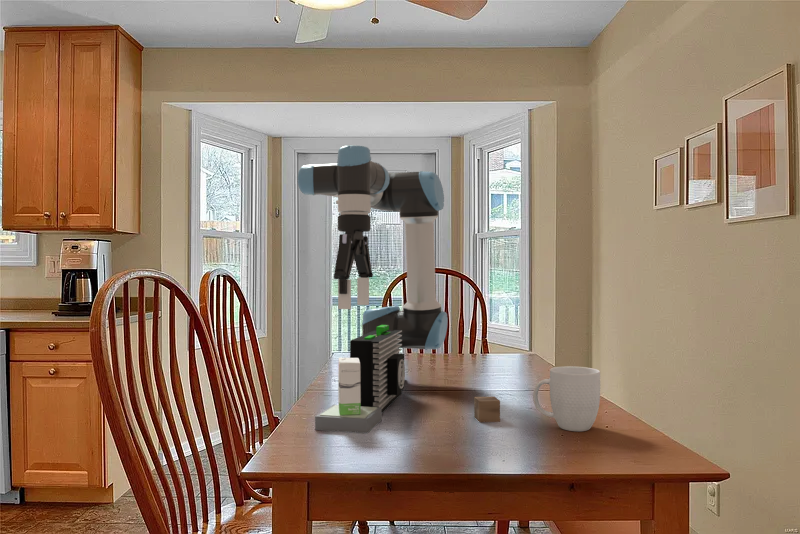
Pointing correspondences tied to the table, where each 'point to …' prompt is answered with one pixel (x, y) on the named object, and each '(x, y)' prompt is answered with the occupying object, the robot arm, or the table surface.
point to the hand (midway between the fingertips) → (354, 307)
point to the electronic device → (379, 366)
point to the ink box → (349, 386)
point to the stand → (348, 420)
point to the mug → (572, 396)
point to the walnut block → (487, 409)
